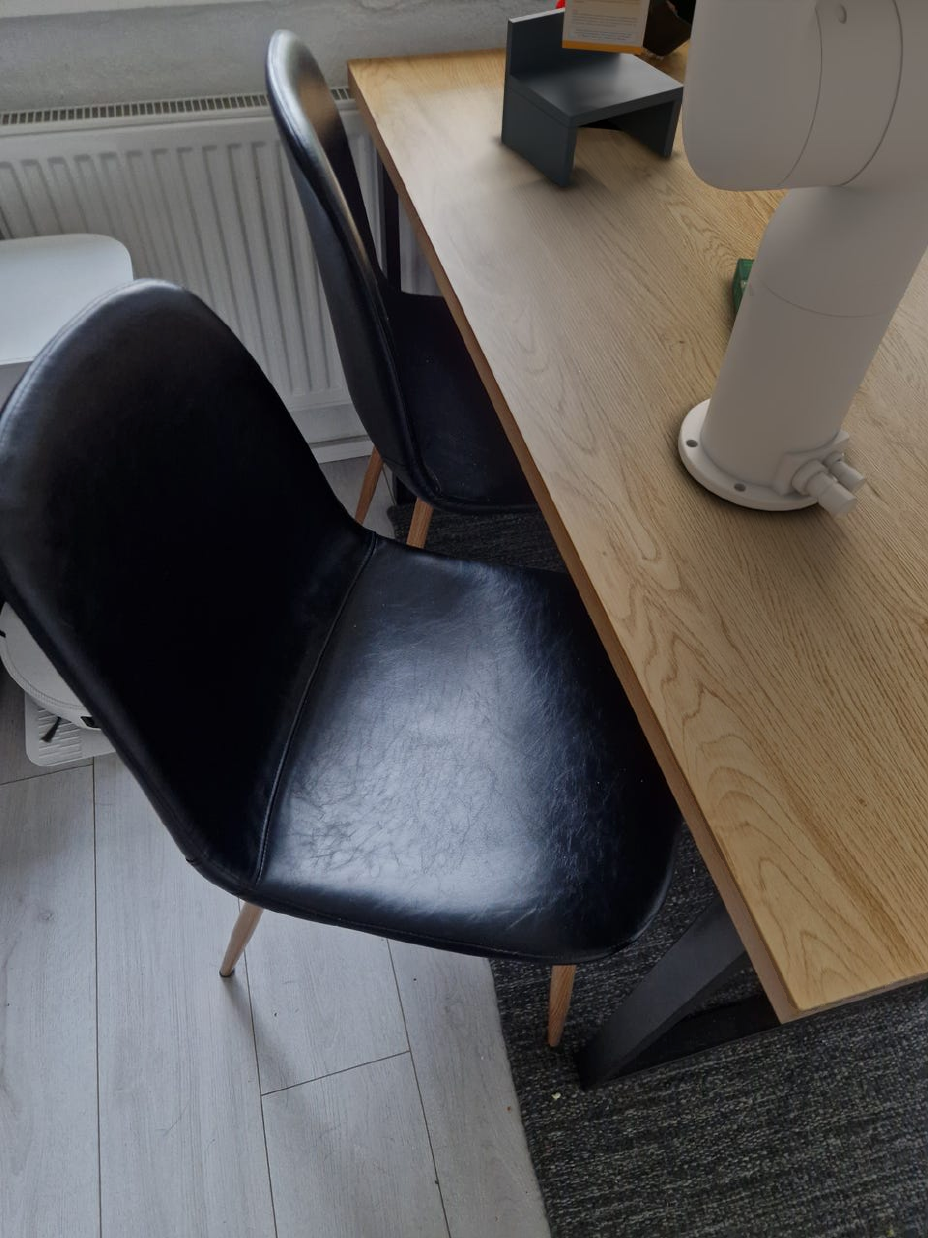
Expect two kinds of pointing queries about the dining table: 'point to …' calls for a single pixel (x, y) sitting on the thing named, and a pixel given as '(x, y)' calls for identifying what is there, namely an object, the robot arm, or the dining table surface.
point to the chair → (578, 96)
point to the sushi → (668, 26)
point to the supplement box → (605, 25)
